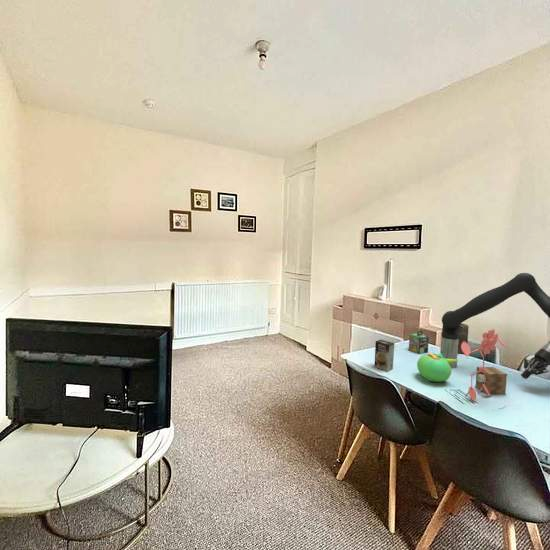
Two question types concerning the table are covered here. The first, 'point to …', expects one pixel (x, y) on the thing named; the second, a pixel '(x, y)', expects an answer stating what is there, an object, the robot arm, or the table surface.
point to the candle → (462, 336)
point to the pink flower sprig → (487, 346)
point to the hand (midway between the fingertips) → (523, 377)
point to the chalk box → (418, 343)
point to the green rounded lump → (435, 367)
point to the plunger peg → (481, 378)
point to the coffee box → (384, 355)
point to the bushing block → (493, 381)
